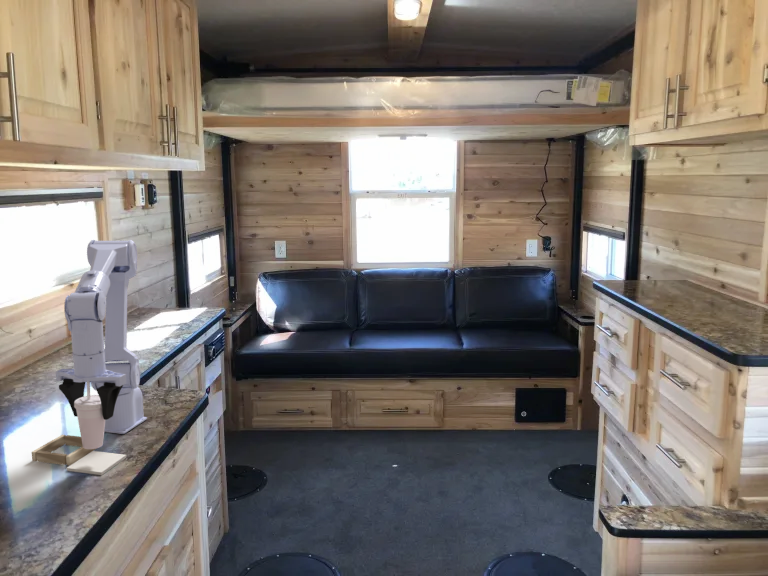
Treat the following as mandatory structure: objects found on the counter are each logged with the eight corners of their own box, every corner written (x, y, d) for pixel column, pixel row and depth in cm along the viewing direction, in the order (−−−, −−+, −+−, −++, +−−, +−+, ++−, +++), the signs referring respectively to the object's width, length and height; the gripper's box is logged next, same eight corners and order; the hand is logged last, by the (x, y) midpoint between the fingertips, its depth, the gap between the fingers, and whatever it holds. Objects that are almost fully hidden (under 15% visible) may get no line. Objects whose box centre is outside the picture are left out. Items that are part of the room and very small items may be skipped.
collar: (63, 443, 137) (62, 434, 136) (99, 447, 135) (98, 438, 135) (32, 461, 128) (31, 452, 128) (70, 465, 126) (69, 456, 126)
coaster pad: (93, 453, 132) (92, 450, 132) (126, 457, 130) (126, 454, 130) (66, 470, 124) (66, 467, 124) (101, 475, 123) (101, 472, 122)
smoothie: (85, 438, 129) (83, 373, 127) (115, 440, 129) (114, 375, 127) (69, 451, 123) (66, 383, 121) (100, 453, 123) (98, 385, 120)
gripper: (42, 354, 121) (48, 420, 123) (108, 360, 118) (112, 427, 120) (67, 345, 127) (72, 407, 130) (130, 350, 124) (134, 413, 127)
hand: (93, 416), depth 125 cm, fingers closed on smoothie, 6 cm apart
